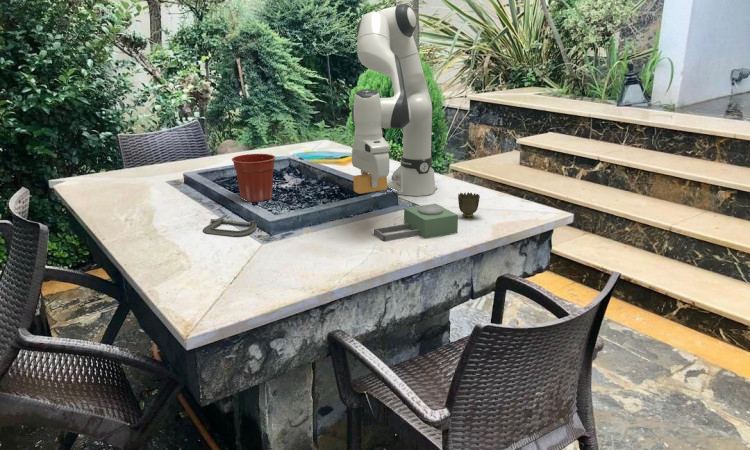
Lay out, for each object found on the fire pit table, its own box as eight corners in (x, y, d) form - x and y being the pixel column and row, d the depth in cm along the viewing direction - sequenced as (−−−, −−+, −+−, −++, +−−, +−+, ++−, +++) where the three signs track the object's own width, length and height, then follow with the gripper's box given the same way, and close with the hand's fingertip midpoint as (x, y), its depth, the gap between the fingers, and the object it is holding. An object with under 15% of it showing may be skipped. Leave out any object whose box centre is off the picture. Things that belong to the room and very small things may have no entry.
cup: (478, 221, 196) (479, 198, 193) (456, 219, 197) (457, 197, 194) (479, 214, 203) (480, 192, 200) (457, 213, 204) (458, 191, 201)
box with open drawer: (369, 231, 187) (369, 210, 185) (435, 220, 197) (435, 200, 195) (388, 244, 175) (388, 222, 173) (457, 232, 185) (458, 211, 182)
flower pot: (262, 190, 236) (259, 151, 231) (286, 197, 225) (284, 157, 220) (227, 198, 225) (223, 157, 220) (250, 206, 214) (247, 164, 209)
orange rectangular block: (353, 191, 186) (353, 175, 184) (381, 186, 190) (380, 171, 188) (359, 193, 182) (358, 178, 181) (387, 189, 187) (386, 174, 185)
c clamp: (190, 233, 189) (189, 225, 188) (224, 217, 204) (223, 210, 203) (241, 241, 181) (240, 233, 180) (272, 224, 196) (271, 217, 195)
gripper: (346, 138, 189) (348, 179, 193) (374, 149, 171) (375, 193, 176) (363, 136, 191) (364, 177, 196) (392, 146, 174) (393, 190, 178)
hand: (370, 185), depth 186 cm, fingers closed on orange rectangular block, 4 cm apart
